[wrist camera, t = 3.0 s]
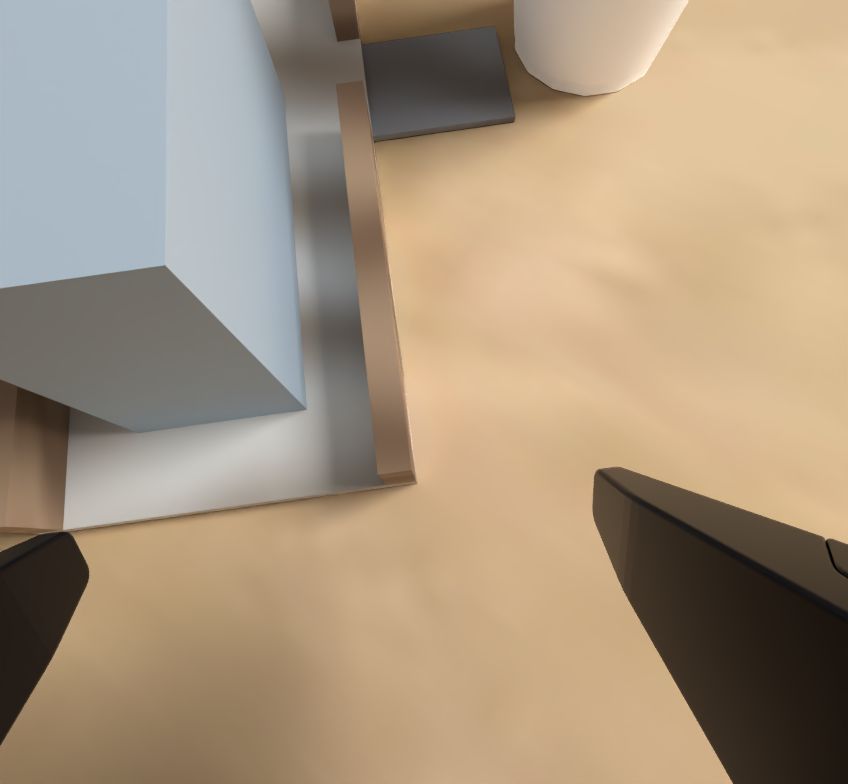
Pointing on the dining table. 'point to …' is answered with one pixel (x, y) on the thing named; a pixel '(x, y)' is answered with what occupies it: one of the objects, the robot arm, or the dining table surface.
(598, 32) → the foam cup
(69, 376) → the slate box
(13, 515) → the lane
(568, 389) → the dining table surface
